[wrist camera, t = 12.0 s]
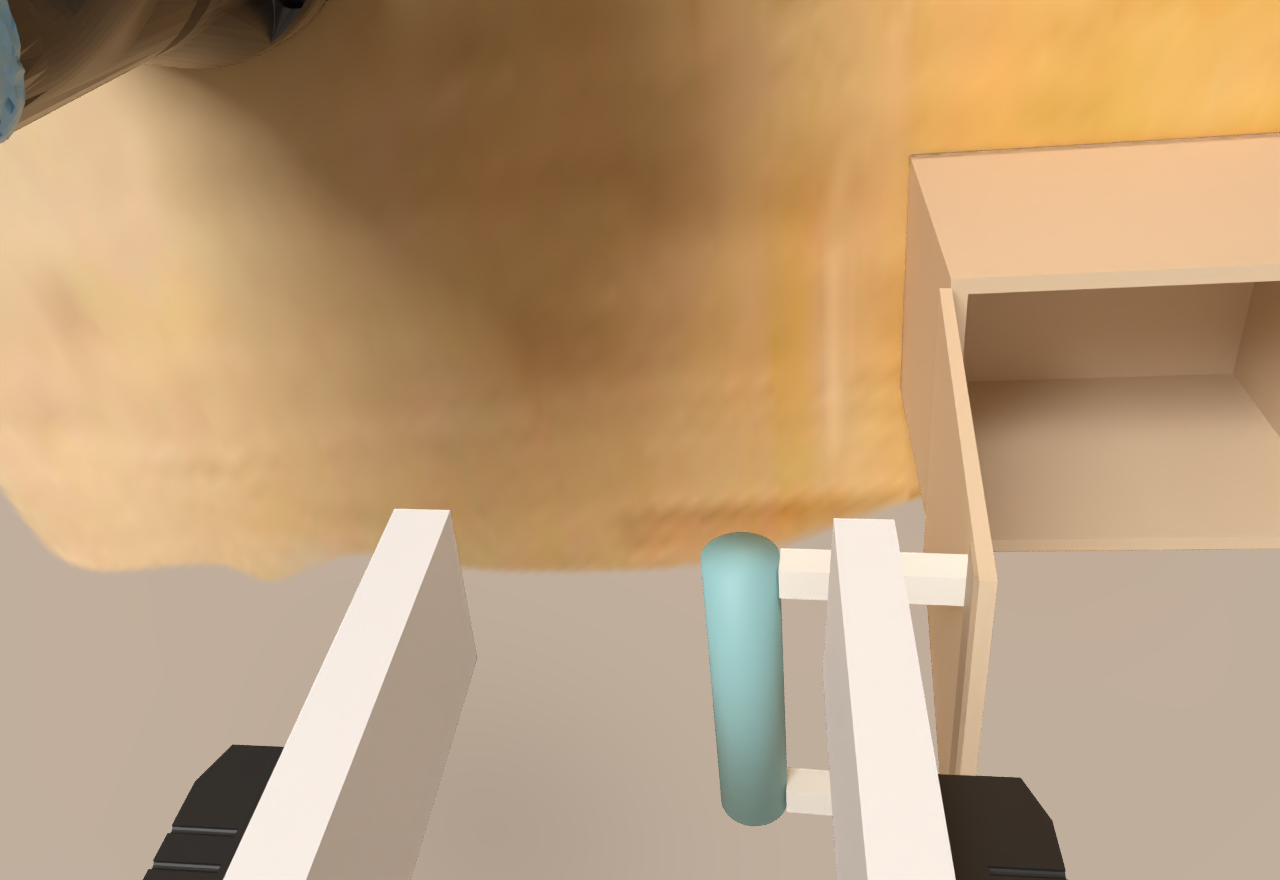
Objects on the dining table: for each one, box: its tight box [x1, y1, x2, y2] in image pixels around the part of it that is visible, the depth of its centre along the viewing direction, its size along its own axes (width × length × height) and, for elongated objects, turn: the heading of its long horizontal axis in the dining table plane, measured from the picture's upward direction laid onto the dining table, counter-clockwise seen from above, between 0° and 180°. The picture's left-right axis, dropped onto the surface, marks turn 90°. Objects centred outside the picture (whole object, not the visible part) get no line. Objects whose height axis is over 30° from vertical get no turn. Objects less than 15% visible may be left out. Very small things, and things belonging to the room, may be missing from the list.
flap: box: [701, 288, 998, 826], centre depth 34 cm, size 15×12×7 cm
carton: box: [900, 132, 1280, 552], centre depth 44 cm, size 16×12×13 cm
